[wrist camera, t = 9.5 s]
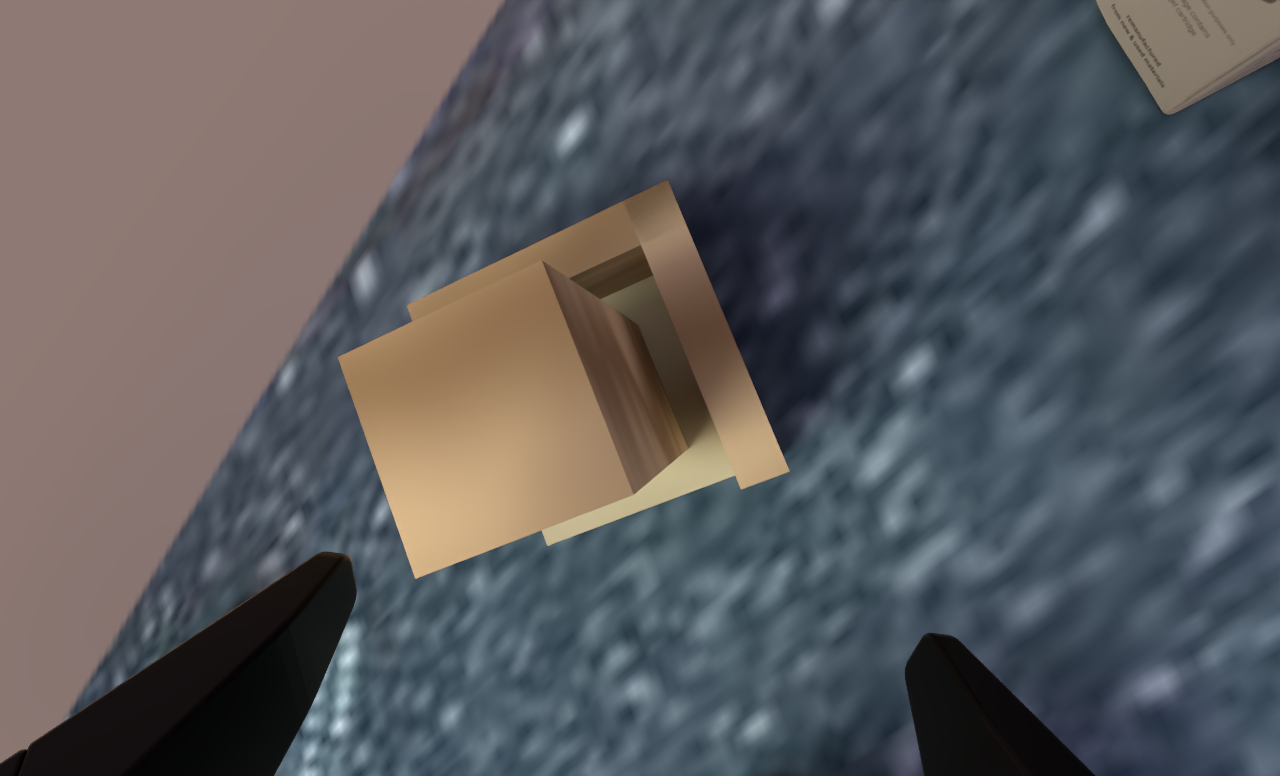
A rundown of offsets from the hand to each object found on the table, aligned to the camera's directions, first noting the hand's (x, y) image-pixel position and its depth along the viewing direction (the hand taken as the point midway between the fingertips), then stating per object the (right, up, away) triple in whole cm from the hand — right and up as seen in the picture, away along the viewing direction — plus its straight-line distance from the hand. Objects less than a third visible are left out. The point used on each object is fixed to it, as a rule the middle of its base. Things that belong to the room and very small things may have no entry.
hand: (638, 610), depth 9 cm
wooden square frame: (-1, +4, +13) cm, 13 cm away
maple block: (-1, +3, +12) cm, 13 cm away
